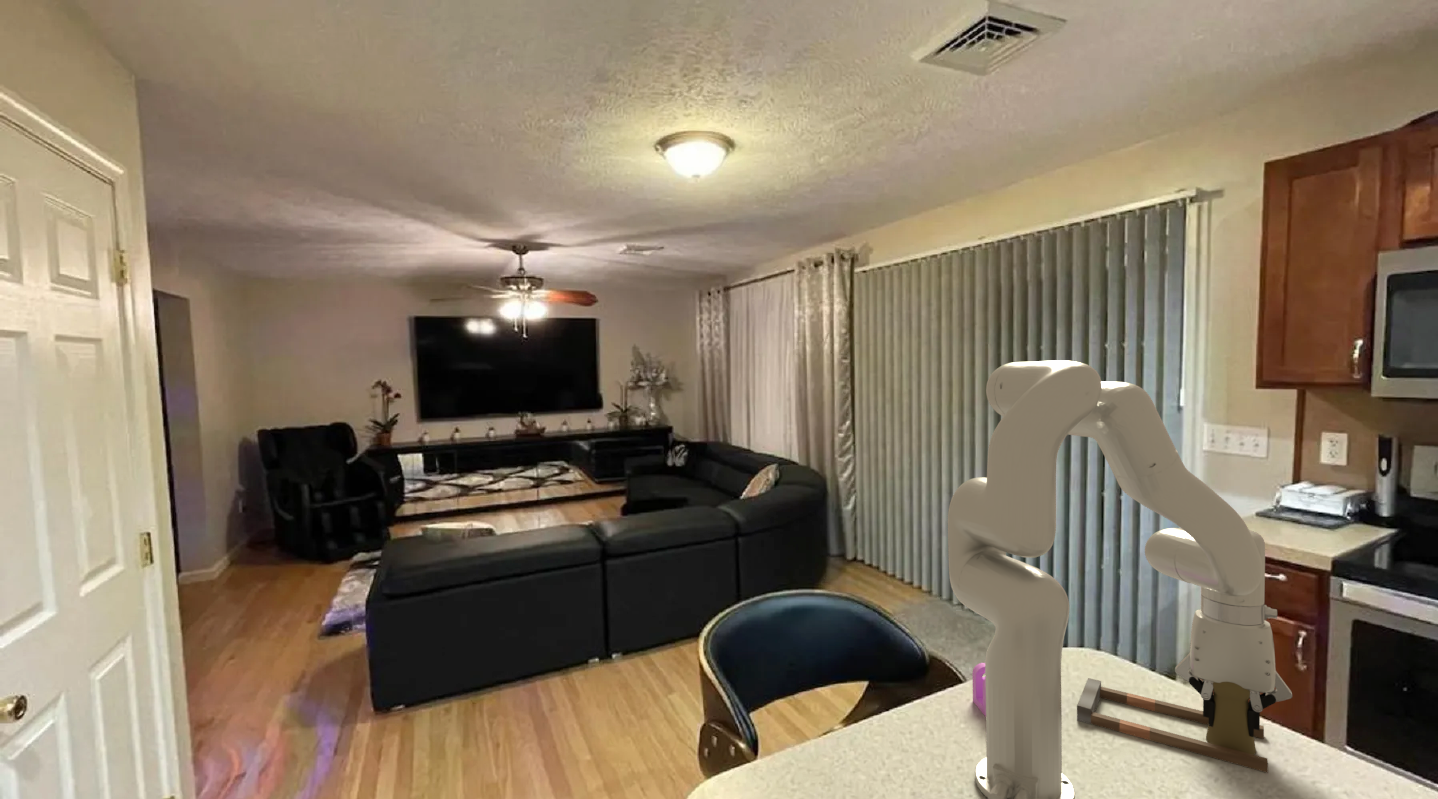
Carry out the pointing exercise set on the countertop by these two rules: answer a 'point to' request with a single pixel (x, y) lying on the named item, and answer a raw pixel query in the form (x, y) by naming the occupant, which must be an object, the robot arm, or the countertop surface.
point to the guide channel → (1088, 715)
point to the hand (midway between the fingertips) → (1230, 726)
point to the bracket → (979, 687)
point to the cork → (1231, 718)
